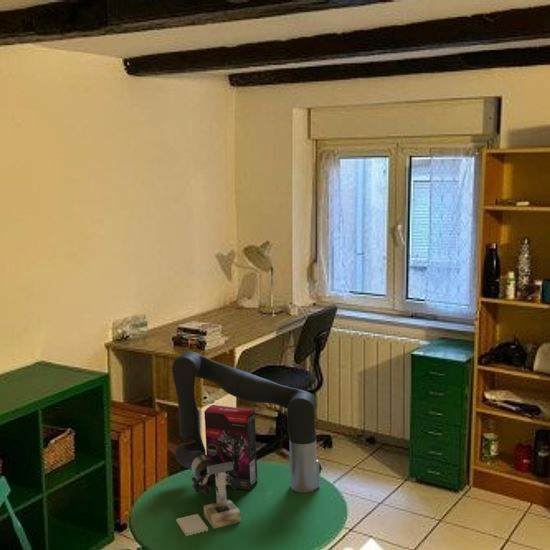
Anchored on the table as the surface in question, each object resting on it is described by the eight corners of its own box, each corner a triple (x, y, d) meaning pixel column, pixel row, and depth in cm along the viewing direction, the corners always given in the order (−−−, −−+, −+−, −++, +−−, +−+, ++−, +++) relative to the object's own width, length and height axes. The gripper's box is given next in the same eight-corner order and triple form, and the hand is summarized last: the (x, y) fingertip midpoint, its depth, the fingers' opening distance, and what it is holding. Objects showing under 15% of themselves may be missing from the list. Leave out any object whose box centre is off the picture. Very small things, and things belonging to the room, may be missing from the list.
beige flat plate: (197, 516, 228) (197, 513, 228) (208, 530, 219) (207, 527, 219) (176, 521, 225) (176, 518, 225) (186, 536, 216) (186, 533, 216)
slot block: (230, 509, 232) (230, 499, 232) (240, 521, 224) (240, 511, 224) (204, 516, 229) (203, 505, 228) (213, 528, 220) (213, 518, 220)
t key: (232, 513, 229) (230, 460, 227) (235, 518, 227) (233, 464, 224) (208, 519, 226) (206, 465, 223) (212, 524, 223) (209, 469, 220)
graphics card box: (206, 484, 251) (202, 410, 247) (215, 476, 257) (212, 403, 253) (250, 491, 245) (247, 415, 240) (258, 483, 251) (256, 408, 247)
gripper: (184, 463, 234) (200, 483, 220) (225, 455, 240) (243, 473, 226) (185, 485, 236) (201, 505, 221) (226, 476, 241) (244, 496, 227)
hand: (222, 489), depth 223 cm, fingers open, 8 cm apart
